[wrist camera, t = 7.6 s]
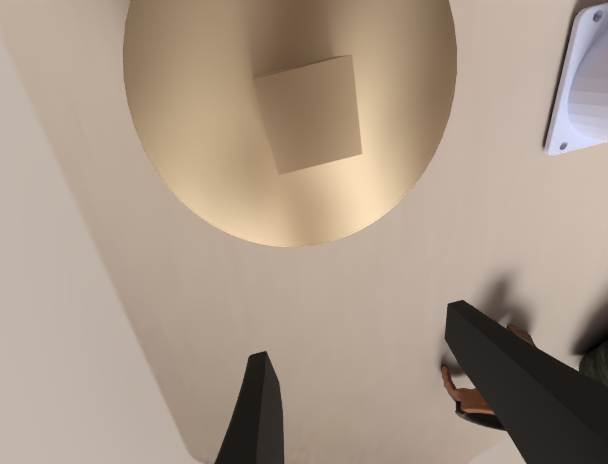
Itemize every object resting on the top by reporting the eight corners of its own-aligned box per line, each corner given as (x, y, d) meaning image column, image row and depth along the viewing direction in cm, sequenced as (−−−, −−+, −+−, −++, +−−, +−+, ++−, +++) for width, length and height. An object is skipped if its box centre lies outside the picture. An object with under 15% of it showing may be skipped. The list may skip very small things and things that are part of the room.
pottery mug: (526, 357, 33) (545, 443, 28) (436, 344, 37) (439, 419, 32) (568, 309, 25) (606, 420, 20) (445, 298, 28) (452, 392, 23)
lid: (454, -157, 9) (538, -251, 6) (439, 204, 15) (477, 233, 13) (50, -64, 8) (-40, -122, 6) (208, 264, 15) (198, 305, 12)
